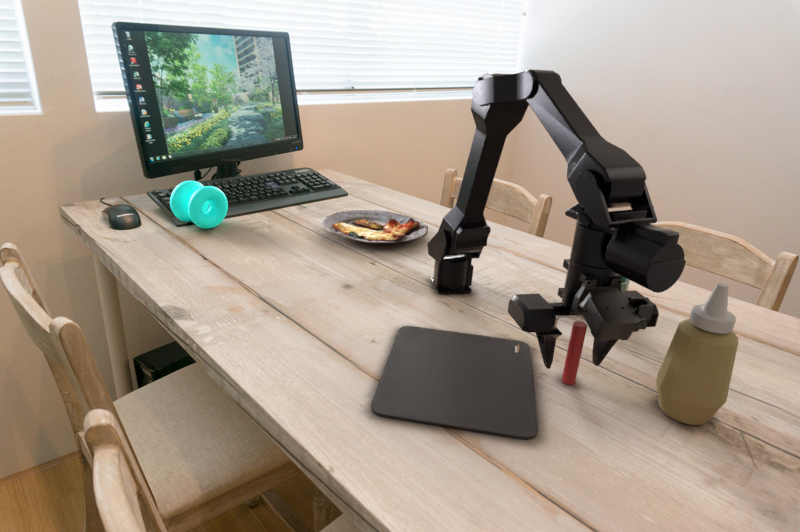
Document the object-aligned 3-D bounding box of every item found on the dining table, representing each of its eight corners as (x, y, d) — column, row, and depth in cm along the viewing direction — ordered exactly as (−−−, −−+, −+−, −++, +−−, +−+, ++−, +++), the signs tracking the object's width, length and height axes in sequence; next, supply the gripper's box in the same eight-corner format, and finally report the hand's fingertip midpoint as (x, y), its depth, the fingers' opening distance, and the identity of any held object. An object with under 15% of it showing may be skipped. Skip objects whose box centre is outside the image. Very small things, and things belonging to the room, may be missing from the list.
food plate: (444, 232, 130) (445, 219, 129) (392, 259, 112) (393, 243, 110) (362, 212, 142) (362, 200, 141) (303, 233, 124) (303, 219, 123)
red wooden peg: (565, 385, 72) (577, 327, 69) (559, 378, 74) (570, 321, 71) (577, 384, 73) (589, 327, 69) (571, 377, 74) (583, 320, 71)
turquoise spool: (206, 215, 133) (202, 176, 129) (231, 224, 128) (229, 184, 124) (169, 224, 125) (165, 182, 122) (195, 234, 120) (191, 191, 116)
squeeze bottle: (637, 392, 72) (670, 270, 65) (693, 392, 72) (732, 271, 66) (670, 432, 64) (712, 299, 57) (732, 432, 65) (780, 300, 58)
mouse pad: (538, 441, 61) (539, 439, 61) (367, 414, 64) (367, 412, 64) (529, 343, 82) (529, 341, 82) (400, 326, 85) (400, 324, 85)
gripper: (553, 288, 57) (531, 407, 63) (703, 284, 61) (669, 396, 67) (514, 252, 67) (499, 357, 73) (644, 250, 71) (620, 350, 77)
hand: (571, 365), depth 72 cm, fingers open, 7 cm apart
